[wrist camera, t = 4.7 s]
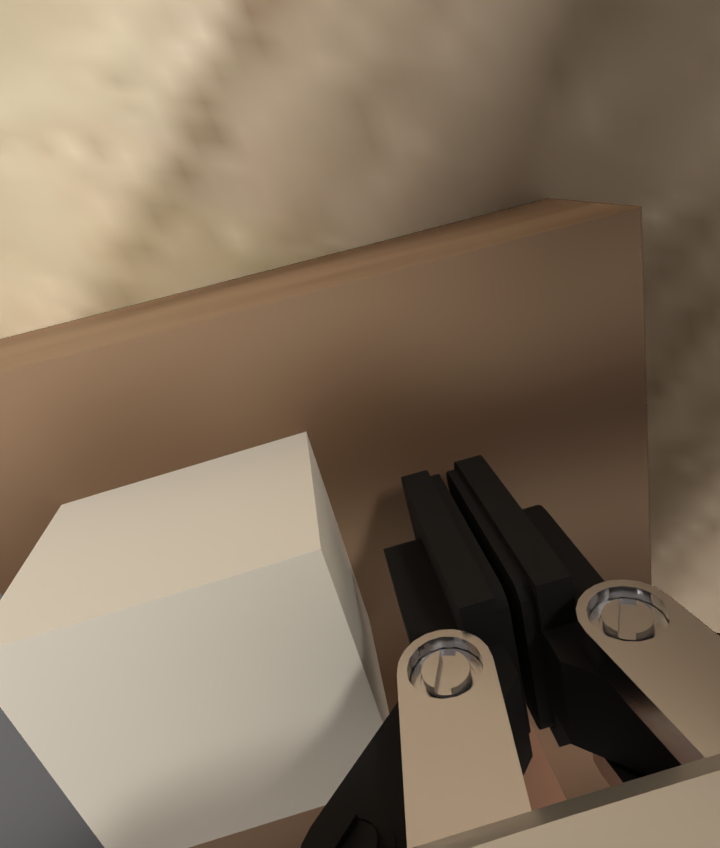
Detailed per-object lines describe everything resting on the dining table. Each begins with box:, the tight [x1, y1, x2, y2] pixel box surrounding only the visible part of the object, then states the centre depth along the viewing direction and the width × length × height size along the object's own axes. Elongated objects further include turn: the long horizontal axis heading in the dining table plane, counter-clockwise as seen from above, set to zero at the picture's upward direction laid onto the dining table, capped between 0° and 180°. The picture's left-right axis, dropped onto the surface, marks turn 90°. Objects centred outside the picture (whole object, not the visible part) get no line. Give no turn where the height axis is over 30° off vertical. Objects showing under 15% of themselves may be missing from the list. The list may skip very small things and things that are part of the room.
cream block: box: [0, 432, 389, 848], centre depth 11 cm, size 5×5×4 cm
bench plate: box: [0, 199, 651, 848], centre depth 16 cm, size 20×14×4 cm
